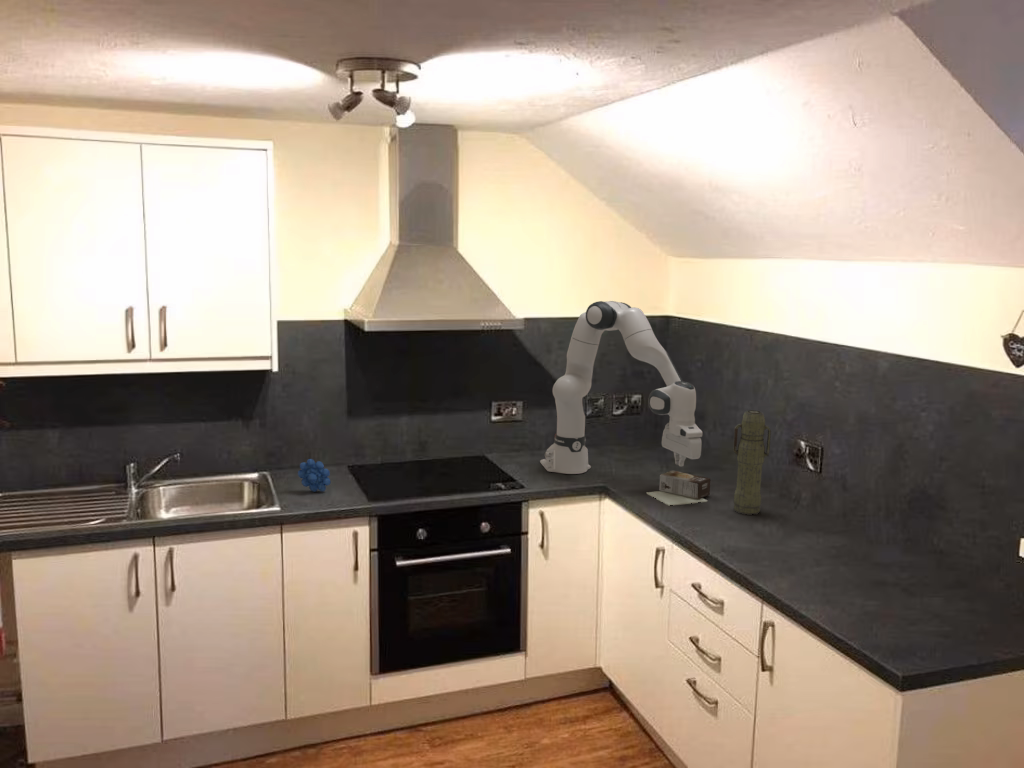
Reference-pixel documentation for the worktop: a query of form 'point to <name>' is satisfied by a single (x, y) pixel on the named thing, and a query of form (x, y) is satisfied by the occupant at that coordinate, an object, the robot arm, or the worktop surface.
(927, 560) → the worktop surface
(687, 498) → the mat
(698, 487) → the coffee box
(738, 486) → the thermos
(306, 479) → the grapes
